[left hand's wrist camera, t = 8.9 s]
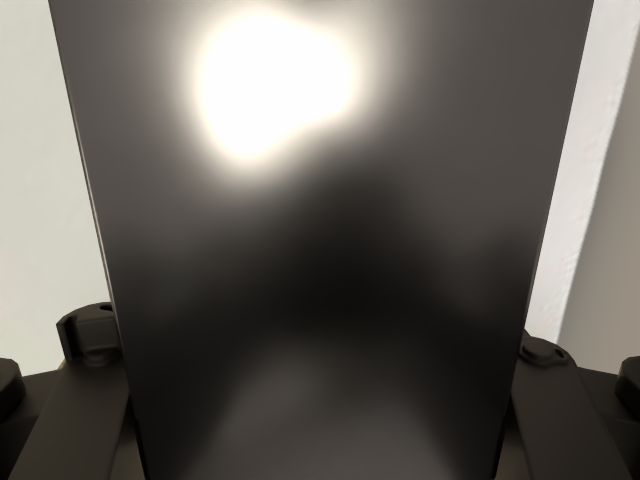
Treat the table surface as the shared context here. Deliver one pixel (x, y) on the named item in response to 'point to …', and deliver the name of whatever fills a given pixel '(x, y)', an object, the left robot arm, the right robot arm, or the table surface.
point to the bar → (320, 221)
